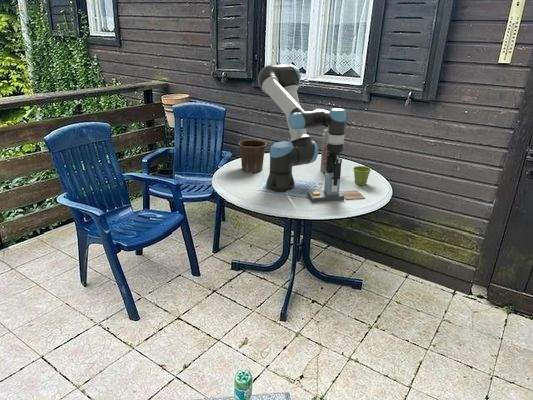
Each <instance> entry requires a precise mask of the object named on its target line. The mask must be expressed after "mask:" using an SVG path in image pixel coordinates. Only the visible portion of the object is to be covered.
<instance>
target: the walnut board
mask: <svg viewBox="0 0 533 400" xmlns="http://www.w3.org/2000/svg"><path fill="white" fill-rule="evenodd" d="M339 191H340V190H339ZM340 192H341V193H342V194H343V195H344V201H345V200H346V201H353V200H366V197H365V196H364V195H363V194H362V193H361V192H360V191H358V190H343V191H340Z"/></svg>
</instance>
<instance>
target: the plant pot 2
mask: <svg viewBox="0 0 533 400" xmlns="http://www.w3.org/2000/svg"><path fill="white" fill-rule="evenodd" d="M352 170H353V175H354V183H355V184H356V185H357V186H366V185H367V183H368V179H369V175H370V172H371V171H372V168H370V167H368V166H365V165H364V166H363V165H356V166H354V167H353V168H352Z"/></svg>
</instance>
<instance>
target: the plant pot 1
mask: <svg viewBox="0 0 533 400" xmlns="http://www.w3.org/2000/svg"><path fill="white" fill-rule="evenodd" d="M267 144H268V143H267V142H265V141H263V140H258V139H245V140H241V141H239V142H238V145H239V151H240V159H241V170H242V171H243V172H246V173H248V174H249V173H250V174H251V173H254V174H255V173H260V172H262V171H263V168H264V160H265V151H266V146H267Z"/></svg>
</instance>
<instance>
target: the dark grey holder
mask: <svg viewBox="0 0 533 400" xmlns="http://www.w3.org/2000/svg"><path fill="white" fill-rule="evenodd" d="M306 195H307V197H308V199H309V200H310V201H311V202H312V203H323V202H337V201H345V199H344V195H343V194H342V193H341V192H340V190H339V195H329V196H326V194H325V193H324V189H321V190H320V189H319V190H307V191H306Z"/></svg>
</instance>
